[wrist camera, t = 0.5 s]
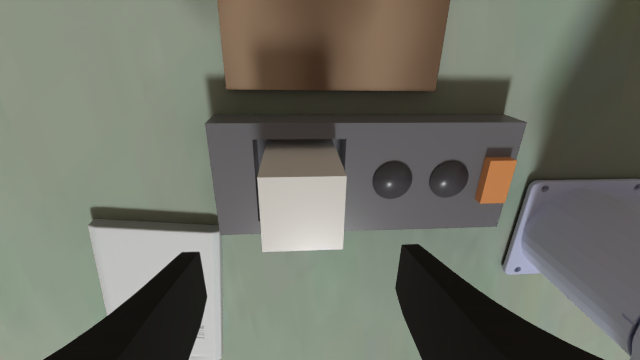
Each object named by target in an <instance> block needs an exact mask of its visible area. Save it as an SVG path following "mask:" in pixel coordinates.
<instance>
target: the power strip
mask: <svg viewBox="0 0 640 360" xmlns="http://www.w3.org/2000/svg"><path fill="white" fill-rule="evenodd" d="M526 123H527V122H524V121H521V120H518V119H516V118H513V117H510V116H507V115H504V114H348V115H213V116H212V117H211V118H210V119H209V120H208V121H207V122H206V123H205V127H206V134H207V141H208V149H209V156H210V164H211V171H212V178H213V186H214V193H215V201H216V208H217V215H218V223H219V230H220V235H234V234H261V224H260V210H259V196H258V182H257V177H258V173H259V169H260V165H261V161H262V158H263V154H264V150H265V146H266V142H267V139H332V140H333V143H334V145H335V148H336V150H337V153H338V155H339V158H340V160H341V163H342V165H343V168H344V170H345V173H346V175H347V181H346V199H345V218H344V231H366V230H399V229H432V228H464V227H497V224H498V221H499V217H500V214H501V210H502V207H503V203H505V200H506V197H507V194H508V190H509V187H510V183H511V180H512V176H513V173H514V169H515V166H516V162H517V160H516V158H517V155H518V151H519V148H520V144H521V141H522V137H523V134H524V130H525V127H526Z"/></svg>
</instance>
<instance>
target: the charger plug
mask: <svg viewBox="0 0 640 360" xmlns="http://www.w3.org/2000/svg"><path fill="white" fill-rule="evenodd" d="M346 181H347V175H346V173H345V170H344V168H343V165H342V163H341V160H340V158H339V155H338V153H337V150H336V148H335V145H334V143H333V140H332V139H267V142H266V146H265V150H264V154H263V158H262V161H261V165H260V169H259V173H258V177H257V182H258V196H259V210H260V224H261V238H262V252H275V251H304V250H333V249H343V236H344V218H345V199H346Z"/></svg>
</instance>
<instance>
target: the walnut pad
mask: <svg viewBox="0 0 640 360" xmlns="http://www.w3.org/2000/svg"><path fill="white" fill-rule="evenodd" d="M217 1H218V11H219V22H220V32H221V42H222V52H223V62H224V72H225V82H226V90H348V91H435V90H436V84H437V78H438V72H439V66H440V60H441V53H442V47H443V41H444V35H445V29H446V23H447V17H448V10H449V4H450V0H217Z"/></svg>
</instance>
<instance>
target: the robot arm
mask: <svg viewBox="0 0 640 360" xmlns="http://www.w3.org/2000/svg"><path fill="white" fill-rule="evenodd" d="M544 186H545V187H544ZM542 187H544V188H543V189H542ZM503 271H504V272H505V273H506V274H509V275H510V274H534V273H542V274H543V275H544V276H545V277H546V278H547V279H548V280H549V281H550V282H551V283H552V284H553V285H555V286H556V287H557V288H558V289H559V290H560V291H561V292H562V293H563V294H564V295H565V296H566V297H567V298H568V299H570V300H571V301H572V302H573V303H574V304H575V305H576V306H577V307H578V308H579V309H580V310H581V311H582V312H583V313H585V314H586V315H587V316H588V317H589V318H590V319H591V320H592V321H593V322H594V323H595V324H596V325H597V326H598V327H600V328H601V329H602V330H603V331H604V332H605V333H606V334H607V335H608V336H609V337H610V338H611V339H612V340H613V341H615V342H616V343H617V344H618V345H619V346H620V347H621V348H622V349H623V350H624V351H625V352H626V353H627V354H628V355H630V356H631V358H630V360H640V179H589V180H536V181H533V182H531V183H530V184H529V186H528V189H527V192H526V195H525V199H524V202H523V205H522V208H521V211H520V214H519V218H518V221H517V224H516V227H515V230H514V233H513V236H512V240H511V243H510V246H509V249H508V252H507V255H506V259H505V262H504V265H503ZM395 289H396V292H397V296H398V300H399V303H400V306H401V310H402V313H403V316H404V318H405V321H406V323H407V325H408V328H409V330H410V333H411V335H412V337H413V340H414V342H415V344H416V346H417V349H418V351H419V353H420V356H421V358H422V360H604V359H602V358H599V357H597V356H595V355H593V354H590V353H588V352H586V351H584V350H582V349H580V348H578V347H575V346H573V345H571V344H569V343H567V342H565V341H563V340H561V339H559V338H557V337H556V336H554V335H552V334H550V333H548V332H546V331H544V330H542V329H540V328H538V327H537V326H535V325H533V324H531V323H529V322H528V321H526V320H524V319H522V318H521V317H519V316H517V315H516V314H514V313H512V312H511V311H509V310H507V309H506V308H504V307H503V306H501V305H499V304H498V303H496V302H495V301H493V300H492V299H490V298H489V297H487V296H486V295H485V294H483V293H482V292H480V291H479V290H477V289H476V288H474V287H473V286H472V285H470V284H469V283H468V282H466V281H465V280H464V279H462V278H461V277H460V276H458V275H457V274H456V273H454V272H453V271H452V270H451V269H449V268H448V267H447V266H445V265H444V264H443V263H442V262H440V261H439V260H438V259H437V258H435V257H434V256H433V255H432V254H430V253H429V252H428V251H427V250H425V249H424V248H423V247H421V246H420V245H418V244H410V245H402V247H401V254H400V261H399V267H398V274H397V281H396V288H395ZM206 301H207V292H206V286H205V280H204V274H203V268H202V262H201V256H200V252H181V253H180V254H179V255H178V256H177V257H176V258H174V259H173V260H172V261H171V262H170V263H169V264H168V265H167V266H166V267H164V268H163V269H162V270H161V271H160V272H159V273H158V274H157V275H156V276H154V277H153V278H152V279H151V280H150V281H149V282H148V283H147V284H145V285H144V286H143V287H142V288H141V289H140V290H139V291H137V292H136V293H135V294H134V295H133V296H131V297H130V298H129V299H128V300H126V301H125V302H124V303H123V304H121V305H120V306H119V307H118V308H116V309H115V310H114V311H113V312H112V313H110V314H109V315H108V316H107V317H105V318H104V319H103V320H101V321H100V322H99V323H97V324H96V325H94V326H93V327H92V328H90V329H89V330H88V331H86V332H85V333H83V334H82V335H80V336H79V337H77V338H76V339H75V340H73V341H72V342H70V343H69V344H67V345H66V346H64V347H63V348H61V349H60V350H58V351H56V352H55V353H53V354H52V355H50V356H48V357H47V358H45V359H44V360H189V357H190V354H191V352H192V349H193V346H194V343H195V340H196V338H197V335H198V332H199V329H200V326H201V323H202V318H203V314H204V310H205V305H206Z"/></svg>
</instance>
